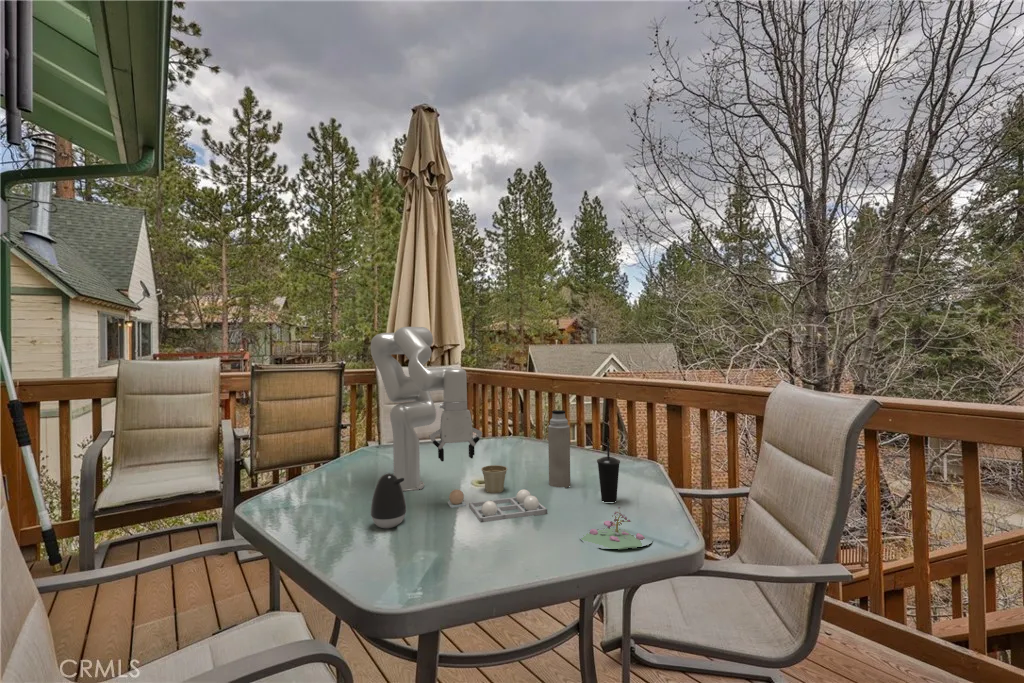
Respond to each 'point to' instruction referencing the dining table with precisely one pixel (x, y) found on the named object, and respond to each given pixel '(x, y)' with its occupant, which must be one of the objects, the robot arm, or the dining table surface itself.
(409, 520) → the dining table surface
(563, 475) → the thermos bottle
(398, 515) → the penguin figurine
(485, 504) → the white egg
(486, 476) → the flower pot
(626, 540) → the plant
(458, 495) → the brown egg
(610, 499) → the drinking cup
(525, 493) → the white egg
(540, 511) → the carton
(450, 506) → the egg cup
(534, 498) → the white egg
